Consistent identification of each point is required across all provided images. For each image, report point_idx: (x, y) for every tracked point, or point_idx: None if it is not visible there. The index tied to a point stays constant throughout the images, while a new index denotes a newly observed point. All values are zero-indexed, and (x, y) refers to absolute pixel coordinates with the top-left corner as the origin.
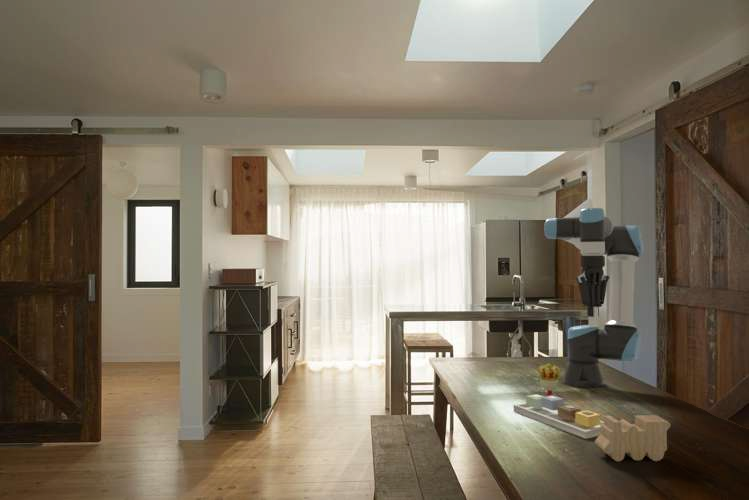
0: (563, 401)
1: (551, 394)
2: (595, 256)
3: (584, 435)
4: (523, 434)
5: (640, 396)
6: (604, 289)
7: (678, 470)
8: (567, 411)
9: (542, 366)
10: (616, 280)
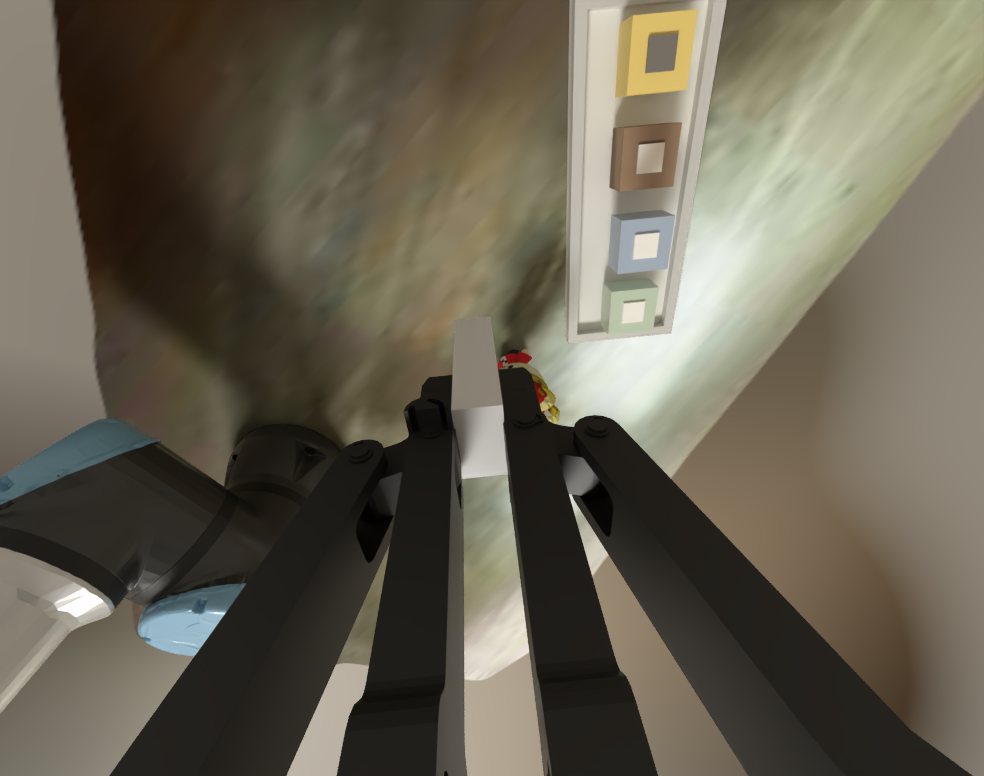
0: (619, 218)
1: (525, 354)
2: None
3: None
4: (825, 129)
5: (196, 308)
6: (255, 626)
7: None
8: (678, 134)
9: None
10: None
